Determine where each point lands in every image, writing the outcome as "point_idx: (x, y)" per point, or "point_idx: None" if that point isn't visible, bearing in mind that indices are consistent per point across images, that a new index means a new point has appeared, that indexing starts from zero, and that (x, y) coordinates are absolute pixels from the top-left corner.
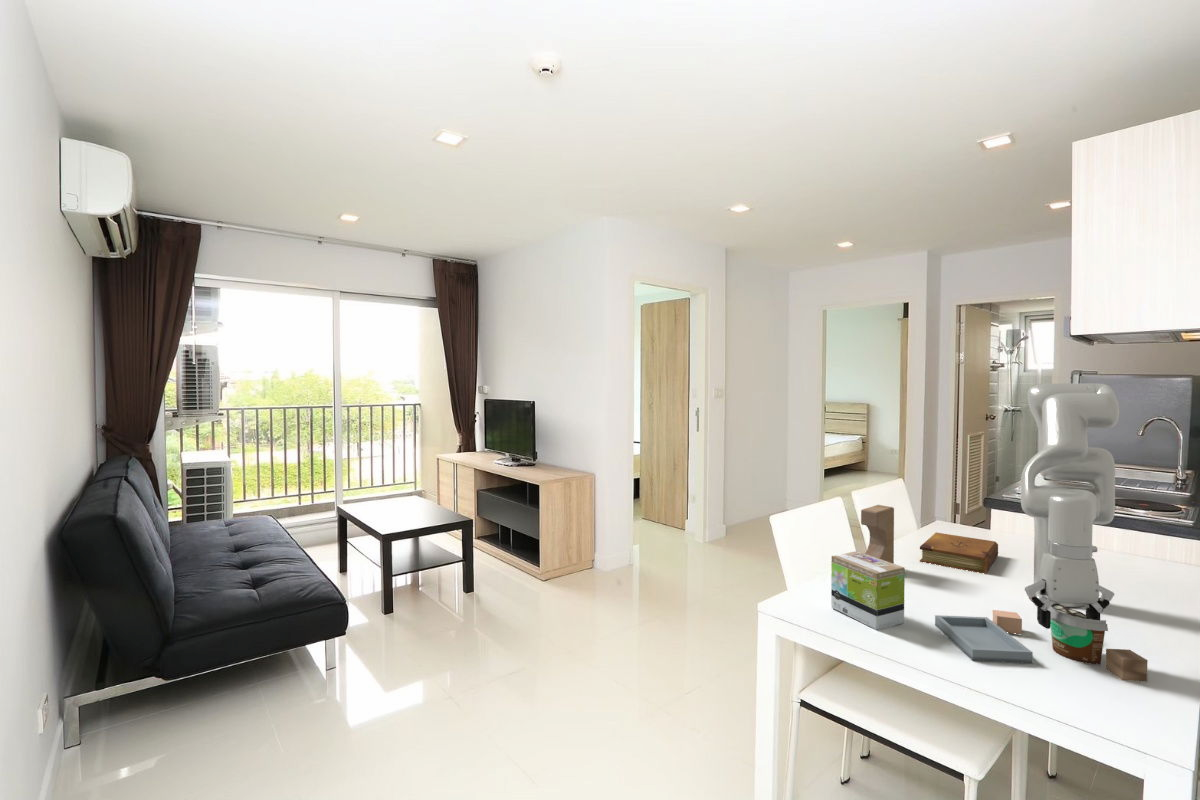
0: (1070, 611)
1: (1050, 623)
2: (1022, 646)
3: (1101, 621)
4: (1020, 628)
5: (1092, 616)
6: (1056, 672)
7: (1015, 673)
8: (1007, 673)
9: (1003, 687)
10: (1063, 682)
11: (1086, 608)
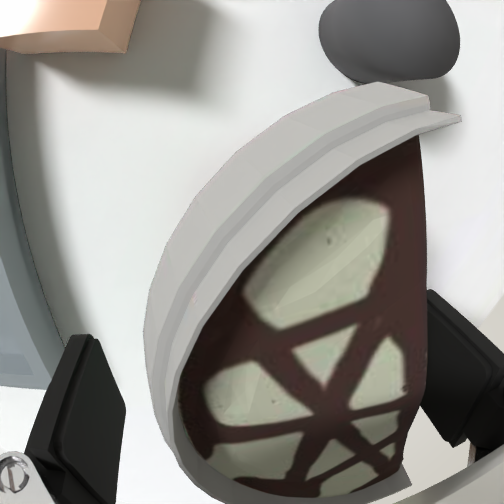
0: (363, 380)
1: (122, 434)
2: (28, 351)
3: (384, 492)
4: (109, 45)
5: (440, 405)
6: (129, 398)
7: (26, 406)
8: (11, 406)
9: (12, 445)
10: (130, 435)
11: (494, 365)
